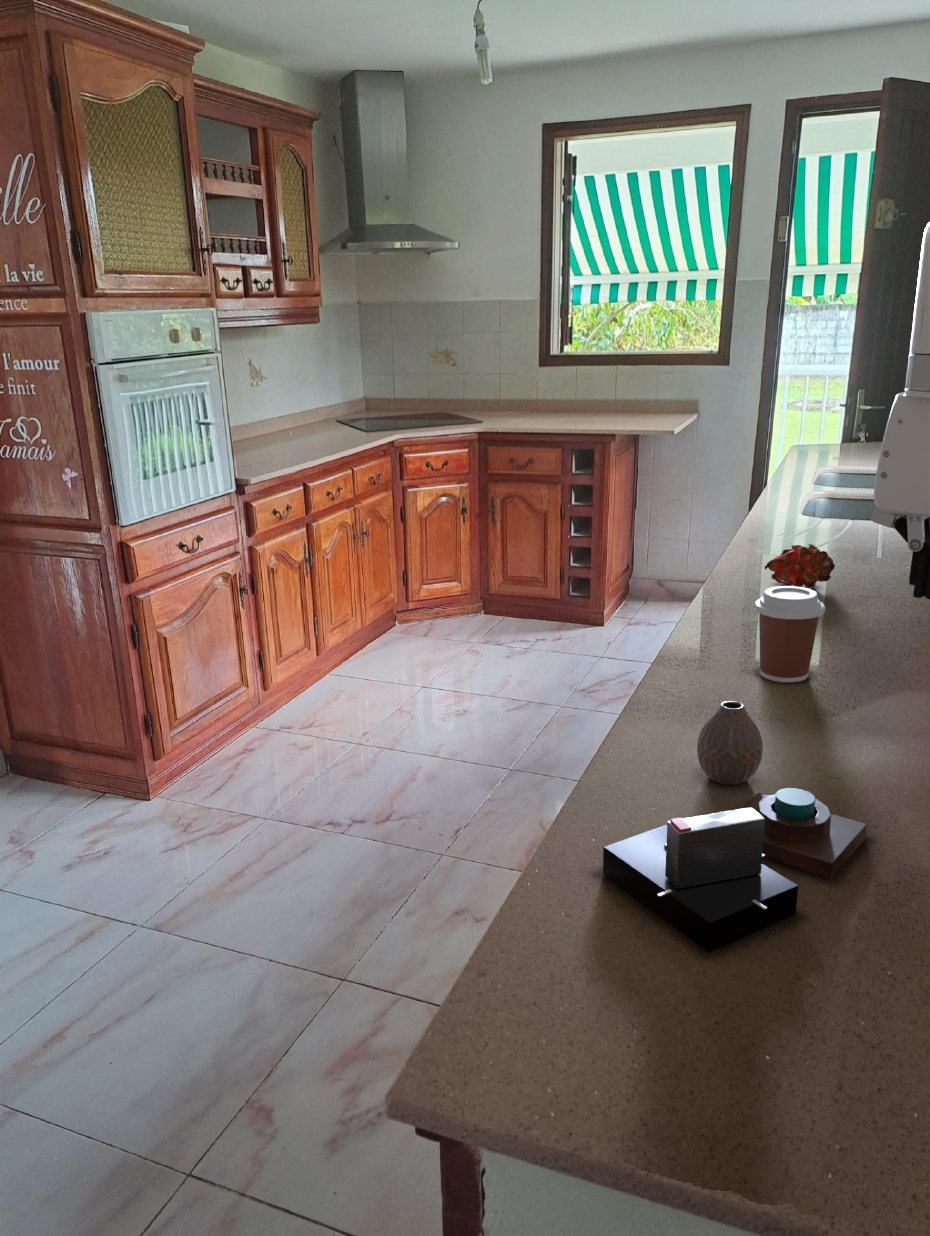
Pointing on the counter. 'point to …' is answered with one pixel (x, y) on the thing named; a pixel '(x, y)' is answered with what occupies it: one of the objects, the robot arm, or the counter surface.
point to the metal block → (714, 847)
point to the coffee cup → (787, 631)
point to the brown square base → (808, 837)
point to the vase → (730, 745)
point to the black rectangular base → (699, 893)
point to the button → (794, 804)
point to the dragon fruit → (801, 566)
